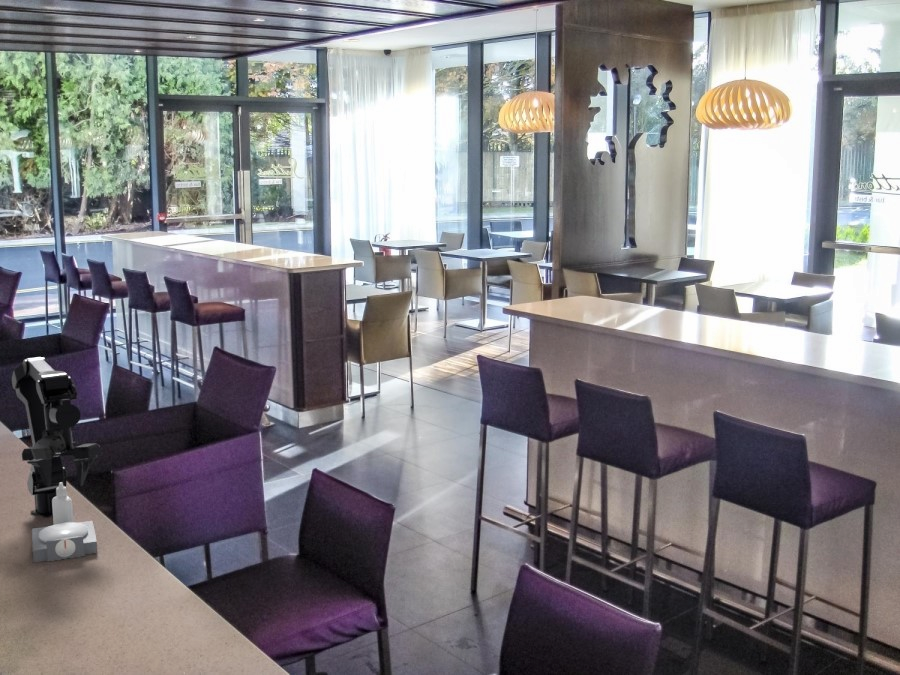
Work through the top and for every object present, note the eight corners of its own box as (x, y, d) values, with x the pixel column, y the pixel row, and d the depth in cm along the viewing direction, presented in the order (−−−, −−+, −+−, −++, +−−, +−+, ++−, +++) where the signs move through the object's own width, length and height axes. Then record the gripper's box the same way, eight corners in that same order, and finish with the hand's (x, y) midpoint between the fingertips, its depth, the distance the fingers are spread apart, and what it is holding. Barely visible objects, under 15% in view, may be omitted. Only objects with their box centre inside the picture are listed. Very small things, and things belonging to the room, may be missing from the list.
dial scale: (32, 540, 230) (31, 521, 229) (93, 531, 236) (92, 513, 235) (33, 564, 217) (32, 544, 216) (97, 554, 222) (96, 535, 221)
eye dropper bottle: (71, 522, 242) (68, 478, 239) (74, 529, 237) (71, 484, 235) (52, 525, 240) (49, 480, 237) (56, 532, 235) (53, 487, 233)
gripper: (3, 431, 225) (10, 495, 226) (71, 428, 220) (78, 493, 222) (33, 423, 235) (40, 484, 237) (99, 420, 231) (105, 482, 232)
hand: (64, 486), depth 231 cm, fingers open, 9 cm apart
